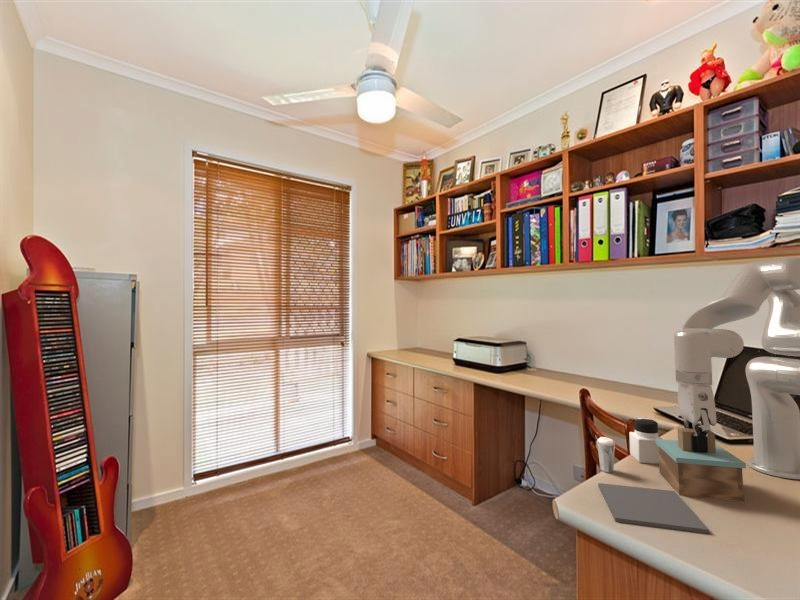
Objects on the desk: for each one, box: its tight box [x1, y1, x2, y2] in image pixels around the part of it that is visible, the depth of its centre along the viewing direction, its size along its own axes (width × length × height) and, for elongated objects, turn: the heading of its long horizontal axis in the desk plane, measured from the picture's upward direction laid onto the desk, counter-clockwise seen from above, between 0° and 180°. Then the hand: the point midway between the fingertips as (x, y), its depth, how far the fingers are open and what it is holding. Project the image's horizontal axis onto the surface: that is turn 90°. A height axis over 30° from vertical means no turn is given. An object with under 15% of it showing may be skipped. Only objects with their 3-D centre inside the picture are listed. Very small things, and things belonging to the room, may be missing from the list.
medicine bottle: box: [628, 417, 663, 465], centre depth 114 cm, size 7×7×12 cm
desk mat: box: [597, 482, 710, 535], centre depth 87 cm, size 17×17×1 cm
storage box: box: [658, 446, 745, 503], centre depth 97 cm, size 13×13×8 cm
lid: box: [656, 427, 747, 469], centre depth 97 cm, size 14×14×7 cm
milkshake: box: [595, 434, 616, 474], centre depth 107 cm, size 4×5×10 cm
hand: (696, 448), depth 97 cm, fingers closed on lid, 3 cm apart
